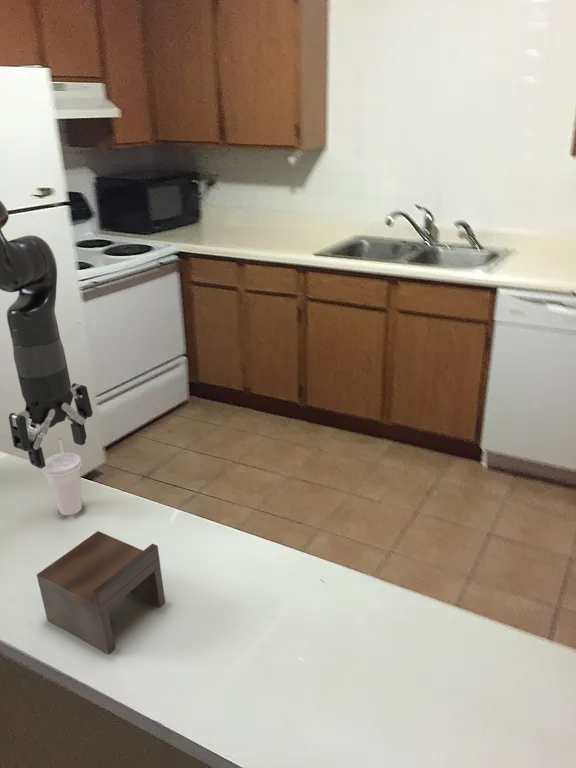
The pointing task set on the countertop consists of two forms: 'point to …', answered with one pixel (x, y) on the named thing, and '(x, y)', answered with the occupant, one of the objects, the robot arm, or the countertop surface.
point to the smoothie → (65, 480)
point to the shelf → (98, 586)
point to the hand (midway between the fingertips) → (60, 454)
